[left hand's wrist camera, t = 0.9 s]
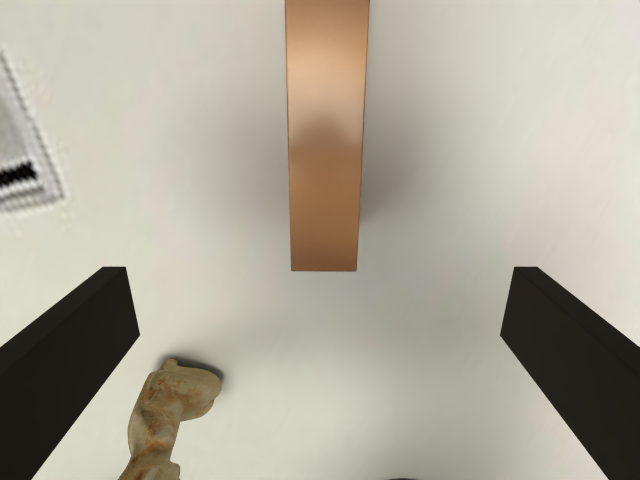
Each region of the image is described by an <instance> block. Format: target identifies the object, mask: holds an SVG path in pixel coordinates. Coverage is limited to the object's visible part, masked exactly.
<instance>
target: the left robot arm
mask: <svg viewBox="0 0 640 480" xmlns="http://www.w3.org/2000/svg"><path fill="white" fill-rule="evenodd" d="M139 336H140V333H139V328H138V323H137V318H136V314H135V309H134V304H133V299H132V295H131V290H130V285H129V280H128V276H127V271H126V267H102V268H101V269H99V270H98V271H97V272H96V273H94V274H93V275H92V276H91V277H89V278H88V279H87V280H85V281H84V282H83V283H82V284H80V285H79V286H78V287H77V288H75V289H74V290H73V291H71V292H70V293H69V294H68V295H66V296H65V297H64V298H62V299H61V300H60V301H59V302H57V303H56V304H55V305H54V306H52V307H51V308H50V309H48V310H47V311H46V312H45V313H43V314H42V315H41V316H40V317H38V318H37V319H36V320H34V321H33V322H32V323H31V324H29V325H28V326H27V327H26V328H24V329H23V330H22V331H20V332H19V333H18V334H17V335H15V336H14V337H13V338H12V339H10V340H9V341H8V342H6V343H5V344H4V345H3V346H1V347H0V480H31V479H32V478H33V477H34V475H35V474H36V473H37V471H38V470H39V469H40V467H41V466H42V465H43V463H44V462H45V461H46V459H47V458H48V457H49V455H50V454H51V453H52V451H53V450H54V449H55V447H56V446H57V445H58V443H59V442H60V441H61V439H62V438H63V437H64V436H65V434H66V433H67V432H68V430H69V429H70V428H71V426H72V425H73V424H74V422H75V421H76V420H77V418H78V417H79V416H80V414H81V413H82V412H83V410H84V409H85V408H86V406H87V405H88V404H89V402H90V401H91V400H92V398H93V397H94V396H95V394H96V393H97V392H98V390H99V389H100V388H101V386H102V385H103V384H104V382H105V381H106V380H107V378H108V377H109V376H110V374H111V373H112V372H113V370H114V369H115V368H116V366H117V365H118V364H119V363H120V361H121V360H122V359H123V357H124V356H125V355H126V353H127V352H128V351H129V349H130V348H131V347H132V345H133V344H134V343H135V341H136V340H137V339H138V337H139ZM500 336H501V337H502V339H503V340H504V341H505V343H506V344H507V345H508V347H509V348H510V349H511V351H512V352H513V353H514V355H515V356H516V357H517V359H518V360H519V361H520V363H521V364H522V365H523V366H524V368H525V369H526V370H527V372H528V373H529V374H530V376H531V377H532V378H533V380H534V381H535V382H536V384H537V385H538V386H539V388H540V389H541V390H542V392H543V393H544V394H545V396H546V397H547V398H548V400H549V401H550V402H551V404H552V405H553V406H554V408H555V409H556V410H557V412H558V413H559V414H560V416H561V417H562V418H563V420H564V421H565V422H566V424H567V425H568V426H569V428H570V429H571V430H572V432H573V433H574V434H575V436H576V437H577V438H578V439H579V441H580V442H581V443H582V445H583V446H584V447H585V449H586V450H587V451H588V453H589V454H590V455H591V457H592V458H593V459H594V461H595V462H596V463H597V465H598V466H599V467H600V469H601V470H602V471H603V473H604V474H605V475H606V477H607V478H608V479H609V480H640V347H639V346H637V345H636V344H635V343H634V342H632V341H631V340H630V339H628V338H627V337H626V336H625V335H623V334H622V333H621V332H620V331H618V330H617V329H616V328H614V327H613V326H612V325H611V324H609V323H608V322H607V321H606V320H604V319H603V318H602V317H600V316H599V315H598V314H597V313H595V312H594V311H593V310H592V309H590V308H589V307H588V306H586V305H585V304H584V303H583V302H581V301H580V300H579V299H578V298H576V297H575V296H574V295H572V294H571V293H570V292H569V291H567V290H566V289H565V288H563V287H562V286H561V285H560V284H558V283H557V282H556V281H555V280H553V279H552V278H551V277H549V276H548V275H547V274H546V273H544V272H543V271H542V270H541V269H539V268H538V267H514V271H513V276H512V280H511V285H510V290H509V295H508V299H507V304H506V309H505V314H504V318H503V323H502V328H501V333H500Z"/></svg>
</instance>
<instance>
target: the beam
mask: <svg viewBox="0 0 640 480" xmlns="http://www.w3.org/2000/svg"><path fill="white" fill-rule="evenodd" d="M369 2H370V0H285V30H286V73H287V116H288V159H289V202H290V245H291V271H357V251H358V230H359V209H360V189H361V168H362V147H363V126H364V105H365V85H366V64H367V43H368V22H369Z"/></svg>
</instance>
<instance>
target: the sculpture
mask: <svg viewBox="0 0 640 480" xmlns="http://www.w3.org/2000/svg"><path fill="white" fill-rule="evenodd" d="M177 364H178V362H177V360H174V359H168V360H166V361H165V362H164V363H163V365H162V366H161V368H160V370H159V371H156V372H152V373H150V374H149V376H148V377H147V379H146V381H145V383H144V386H143V388H142V390H141V392H140V395H139V397H138V399H137V402H136V404H135V406H134V409H133V412H132V414H131V417H130V421H129V425H128V445H129V449H130V453H131V458H130V461H129V463H128V465H127V467H126V469H125V470H124V472H123V473H122V475H121V476H120V477H119V479H118V480H180V478H179V476H180V466H179V465H178V464H175V463H172V462H171V461H170V456H171V453H172V450H173V446H174V443H175V440H176V436H177V432H178V428H179V424H180V422H181V421H186V420H191V419H195V418H199V417H201V416H203V415H205V414H206V413H207V412H208V411H209V410H210V409H211V407H212V405H213V403H214V399H215V397H217V396H218V395H219V393H220V391H221V381H220V379H219V378H218V377H217V376H216V375H215V374H213V373H211V372H209V371H207V370H203V369H199V368H189V367H181V366H178V365H177Z"/></svg>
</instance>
